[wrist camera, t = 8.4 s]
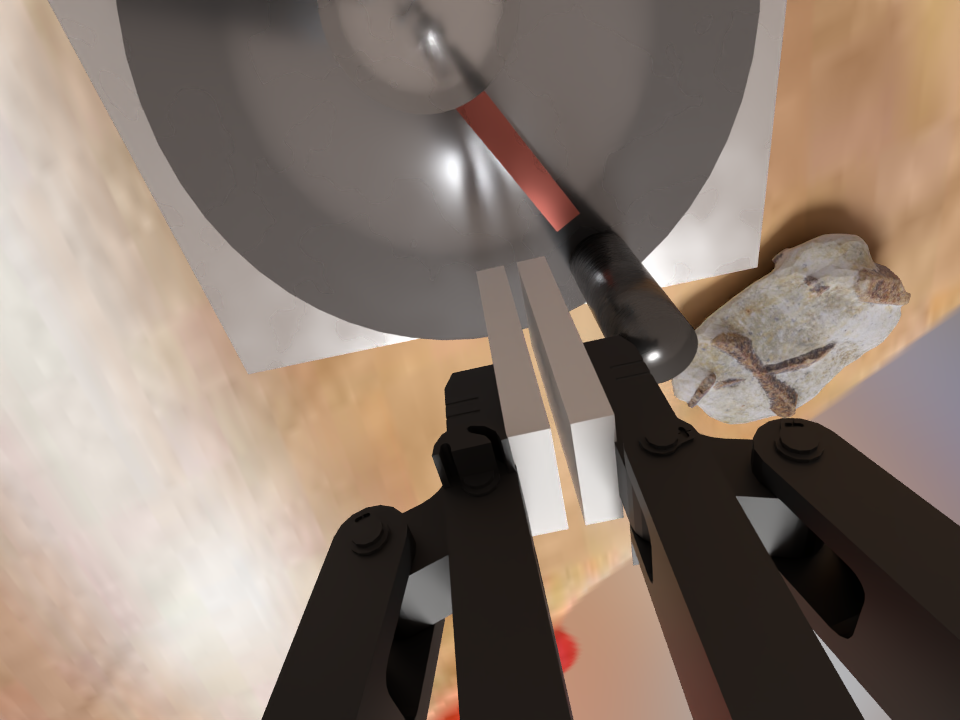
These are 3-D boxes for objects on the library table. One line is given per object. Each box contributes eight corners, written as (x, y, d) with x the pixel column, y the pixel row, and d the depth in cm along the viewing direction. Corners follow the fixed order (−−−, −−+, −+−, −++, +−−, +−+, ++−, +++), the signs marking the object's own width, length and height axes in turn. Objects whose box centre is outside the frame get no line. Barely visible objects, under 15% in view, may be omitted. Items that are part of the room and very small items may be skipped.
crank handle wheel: (156, 228, 18) (3, 371, 11) (185, -515, 10) (-232, -1395, 4) (573, 338, 22) (640, 492, 15) (818, -143, 14) (1165, -249, 8)
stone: (730, 424, 29) (756, 461, 27) (637, 359, 26) (657, 394, 24) (899, 289, 25) (945, 319, 23) (813, 194, 22) (856, 218, 20)
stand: (-120, -411, 12) (-312, -549, 9) (805, -653, 11) (951, -893, 8) (260, 346, 23) (235, 403, 20) (732, 246, 23) (783, 288, 20)
